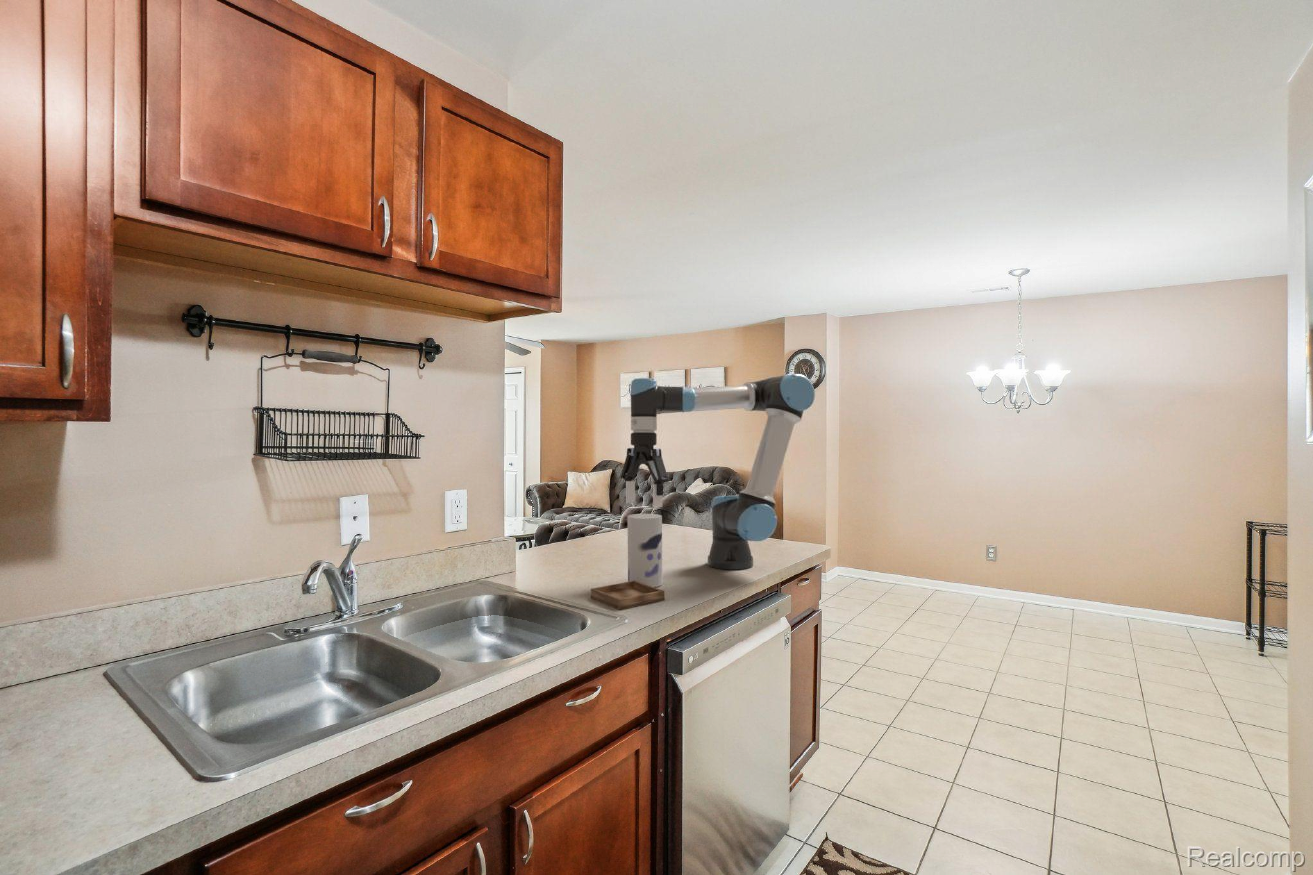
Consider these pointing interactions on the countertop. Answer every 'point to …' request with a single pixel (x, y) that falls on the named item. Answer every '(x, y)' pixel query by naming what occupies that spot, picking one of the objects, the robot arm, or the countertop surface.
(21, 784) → the countertop surface
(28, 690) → the countertop surface
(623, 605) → the stand
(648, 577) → the container
